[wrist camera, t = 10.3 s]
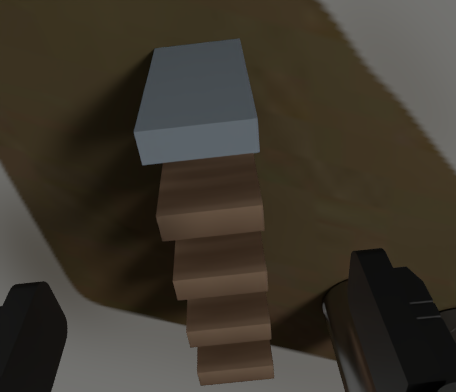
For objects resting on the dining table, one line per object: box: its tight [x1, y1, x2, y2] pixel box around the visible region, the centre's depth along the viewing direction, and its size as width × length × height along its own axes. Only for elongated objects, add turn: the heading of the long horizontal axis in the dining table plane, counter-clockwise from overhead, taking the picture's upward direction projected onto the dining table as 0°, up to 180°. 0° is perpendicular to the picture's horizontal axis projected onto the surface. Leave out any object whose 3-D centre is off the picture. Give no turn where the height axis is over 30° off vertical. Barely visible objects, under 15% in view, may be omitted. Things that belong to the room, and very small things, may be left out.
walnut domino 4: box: [197, 339, 274, 386], centre depth 33 cm, size 2×5×10 cm, turn 96°
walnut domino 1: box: [156, 153, 265, 242], centre depth 24 cm, size 2×5×10 cm, turn 96°
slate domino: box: [134, 39, 260, 165], centre depth 22 cm, size 2×5×10 cm, turn 95°
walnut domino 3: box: [186, 291, 271, 347], centre depth 30 cm, size 2×5×10 cm, turn 96°
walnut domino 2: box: [173, 231, 268, 300], centre depth 27 cm, size 2×5×10 cm, turn 96°
